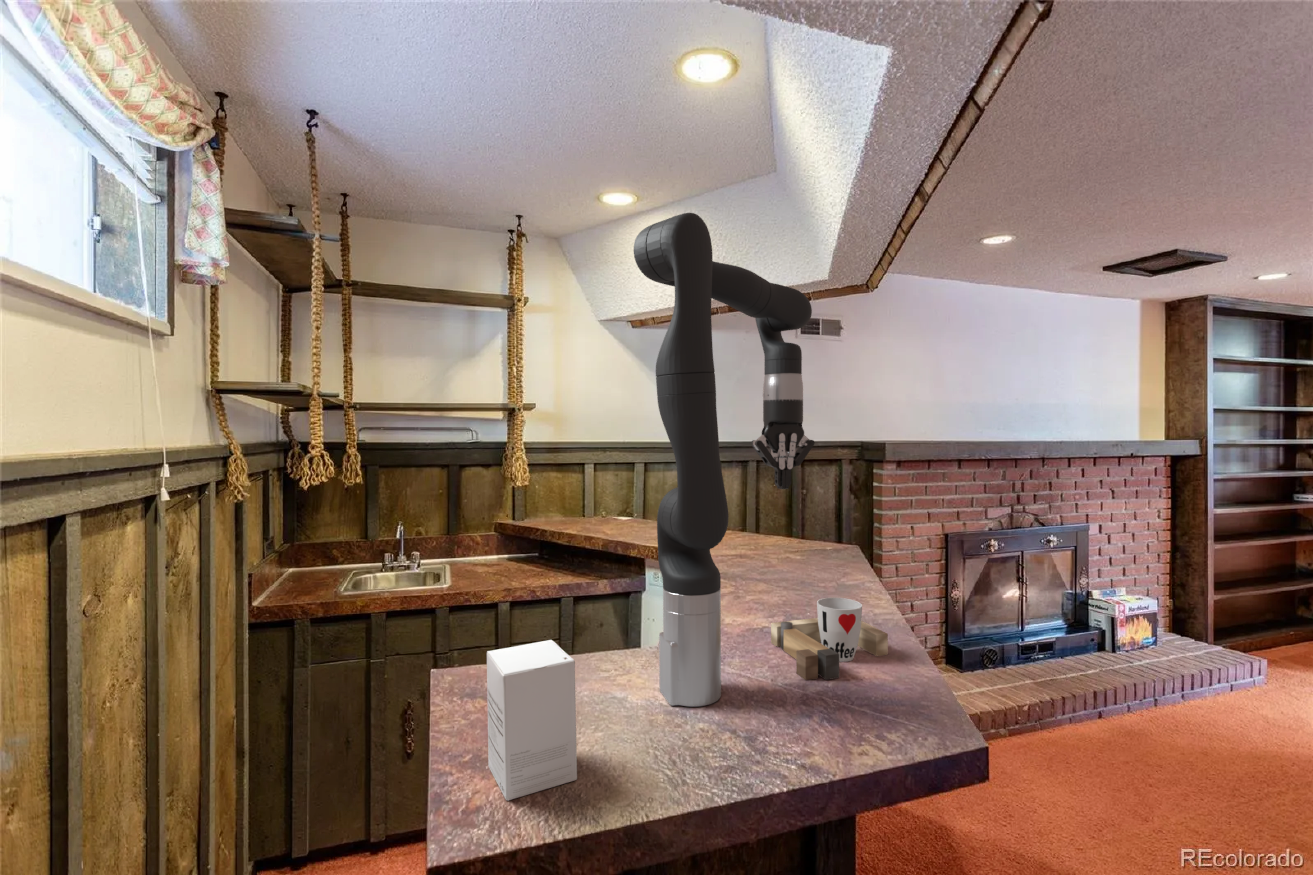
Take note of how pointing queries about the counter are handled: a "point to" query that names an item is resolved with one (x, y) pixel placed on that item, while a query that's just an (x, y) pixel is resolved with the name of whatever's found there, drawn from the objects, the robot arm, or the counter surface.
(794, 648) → the leg
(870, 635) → the jointed wooden sticks
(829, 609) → the cup
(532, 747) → the supplement box
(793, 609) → the counter surface
